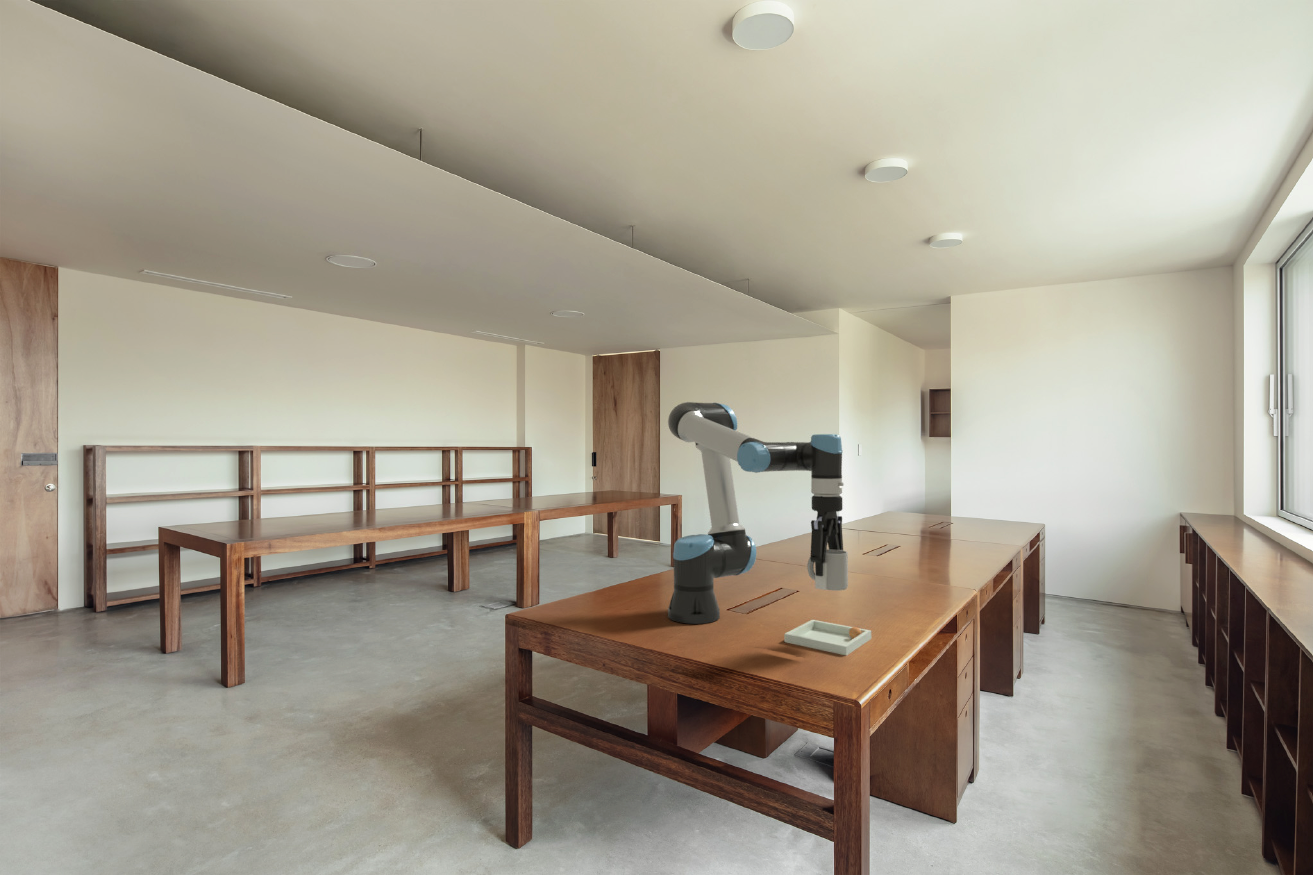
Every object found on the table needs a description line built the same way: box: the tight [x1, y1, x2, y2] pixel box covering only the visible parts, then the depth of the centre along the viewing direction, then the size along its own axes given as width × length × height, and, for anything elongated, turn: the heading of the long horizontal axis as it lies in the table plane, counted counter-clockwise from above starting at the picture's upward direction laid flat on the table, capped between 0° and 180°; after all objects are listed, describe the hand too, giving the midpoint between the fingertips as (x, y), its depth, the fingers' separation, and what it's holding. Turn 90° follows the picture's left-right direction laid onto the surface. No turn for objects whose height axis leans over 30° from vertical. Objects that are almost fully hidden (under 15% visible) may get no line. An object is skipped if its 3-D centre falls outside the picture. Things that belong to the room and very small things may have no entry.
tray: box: [783, 619, 872, 656], centre depth 154 cm, size 16×16×3 cm
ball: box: [849, 626, 861, 639], centre depth 155 cm, size 3×3×3 cm
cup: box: [806, 548, 849, 592], centre depth 154 cm, size 7×10×9 cm
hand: (827, 585), depth 154 cm, fingers closed on cup, 7 cm apart
